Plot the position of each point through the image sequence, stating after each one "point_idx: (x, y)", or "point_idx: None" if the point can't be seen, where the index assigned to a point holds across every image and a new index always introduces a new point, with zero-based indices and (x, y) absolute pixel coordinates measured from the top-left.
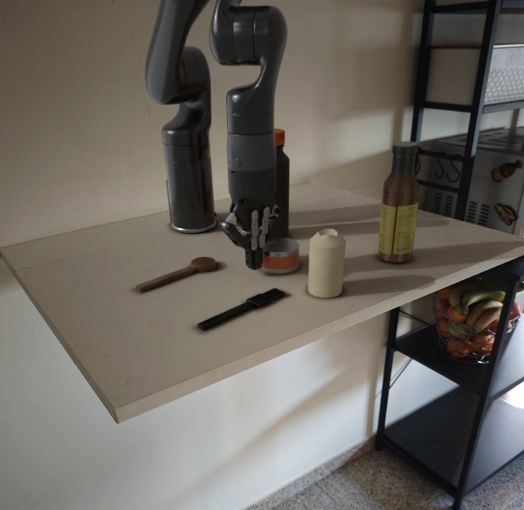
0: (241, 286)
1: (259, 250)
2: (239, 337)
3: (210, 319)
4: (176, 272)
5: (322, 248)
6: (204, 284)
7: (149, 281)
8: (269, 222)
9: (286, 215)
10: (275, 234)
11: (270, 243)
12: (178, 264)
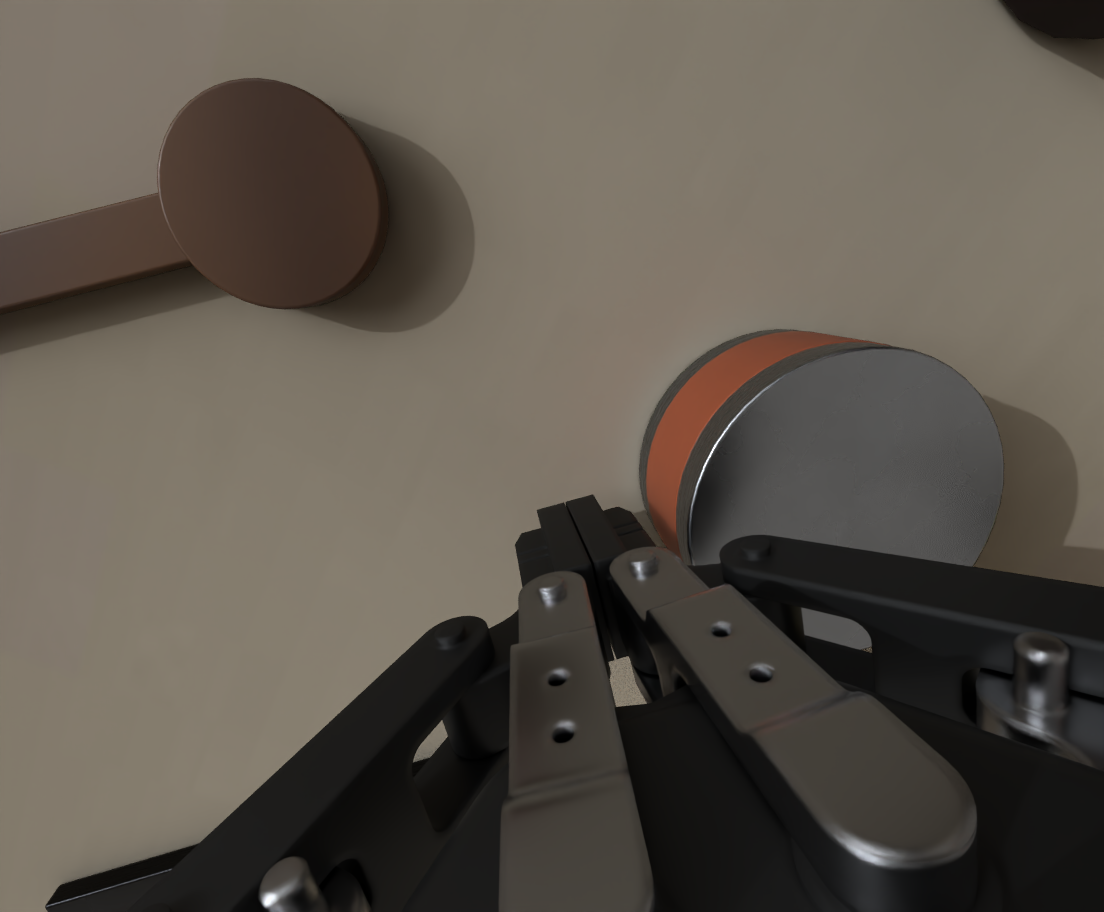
0: (427, 604)
1: (624, 647)
2: None
3: (121, 896)
4: (1, 265)
5: None
6: (214, 483)
7: None
8: (905, 677)
9: None
10: (1084, 9)
11: (815, 464)
12: (82, 10)
